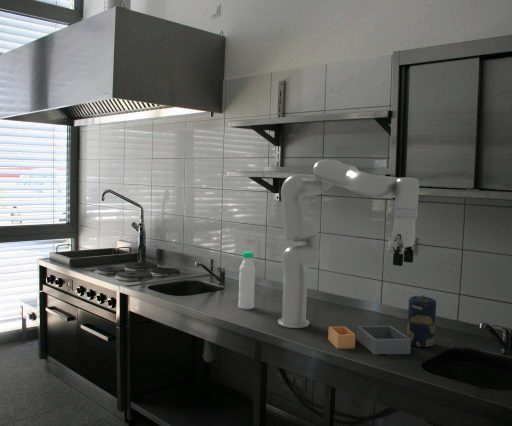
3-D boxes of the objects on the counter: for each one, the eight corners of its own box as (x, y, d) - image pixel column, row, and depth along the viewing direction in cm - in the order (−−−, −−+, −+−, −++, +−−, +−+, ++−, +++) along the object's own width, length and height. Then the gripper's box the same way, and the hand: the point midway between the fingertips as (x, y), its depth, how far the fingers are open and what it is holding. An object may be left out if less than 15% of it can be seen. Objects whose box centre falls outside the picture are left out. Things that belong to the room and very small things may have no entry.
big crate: (356, 339, 189) (357, 326, 189) (389, 338, 192) (390, 325, 191) (374, 354, 174) (375, 340, 173) (410, 353, 176) (411, 339, 176)
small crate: (328, 340, 188) (328, 326, 188) (344, 339, 190) (345, 326, 189) (337, 349, 179) (337, 335, 178) (354, 348, 180) (355, 334, 179)
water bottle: (236, 308, 227) (238, 252, 225) (240, 305, 233) (242, 250, 232) (251, 310, 225) (253, 253, 223) (255, 306, 232) (257, 251, 230)
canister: (438, 344, 187) (441, 296, 186) (427, 350, 180) (430, 300, 178) (413, 338, 193) (416, 291, 192) (401, 344, 186) (404, 295, 185)
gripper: (404, 212, 184) (401, 259, 185) (385, 214, 170) (382, 265, 171) (425, 213, 180) (422, 262, 181) (407, 215, 166) (404, 268, 167)
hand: (403, 263), depth 176 cm, fingers open, 9 cm apart
